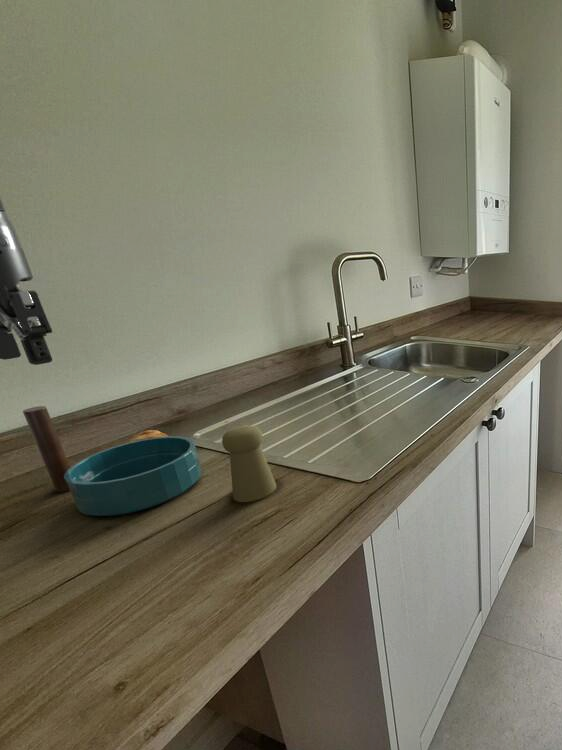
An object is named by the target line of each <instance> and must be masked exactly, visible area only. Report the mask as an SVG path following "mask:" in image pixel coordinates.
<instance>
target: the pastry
mask: <svg viewBox="0 0 562 750" xmlns="http://www.w3.org/2000/svg"><path fill="white" fill-rule="evenodd" d="M168 436H169V435H168V434H166V433H164V432H161V431H159V430H157V429H154V430H152V429H149V430H143V431H141V432H139V433H138V434H134V435H133V436H132V437H131V438H130V439H129V440H128V443H130V442H134V441H139V440H144V439H150V438H156V437H168Z"/></svg>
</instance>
